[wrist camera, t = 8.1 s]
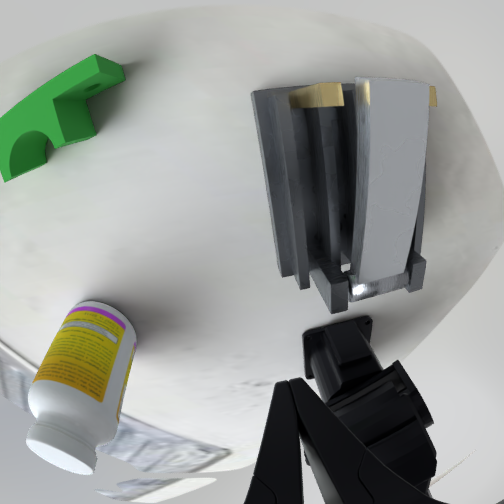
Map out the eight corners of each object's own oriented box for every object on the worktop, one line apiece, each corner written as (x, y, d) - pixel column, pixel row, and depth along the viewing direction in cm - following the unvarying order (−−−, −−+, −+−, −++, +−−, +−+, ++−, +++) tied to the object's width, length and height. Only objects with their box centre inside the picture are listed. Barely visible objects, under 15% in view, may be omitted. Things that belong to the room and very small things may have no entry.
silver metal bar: (391, 274, 17) (404, 293, 16) (341, 287, 17) (351, 308, 16) (414, 79, 10) (439, 86, 8) (344, 76, 10) (366, 81, 8)
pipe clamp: (16, 182, 16) (-20, 202, 12) (2, 140, 14) (-36, 152, 10) (138, 116, 16) (112, 117, 11) (122, 65, 14) (93, 53, 10)
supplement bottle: (57, 301, 21) (-8, 421, 9) (121, 293, 21) (68, 440, 9) (89, 356, 24) (52, 471, 12) (149, 353, 24) (127, 486, 12)
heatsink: (398, 241, 21) (448, 286, 15) (278, 266, 21) (300, 329, 15) (394, 85, 16) (460, 84, 10) (250, 93, 16) (268, 80, 10)
